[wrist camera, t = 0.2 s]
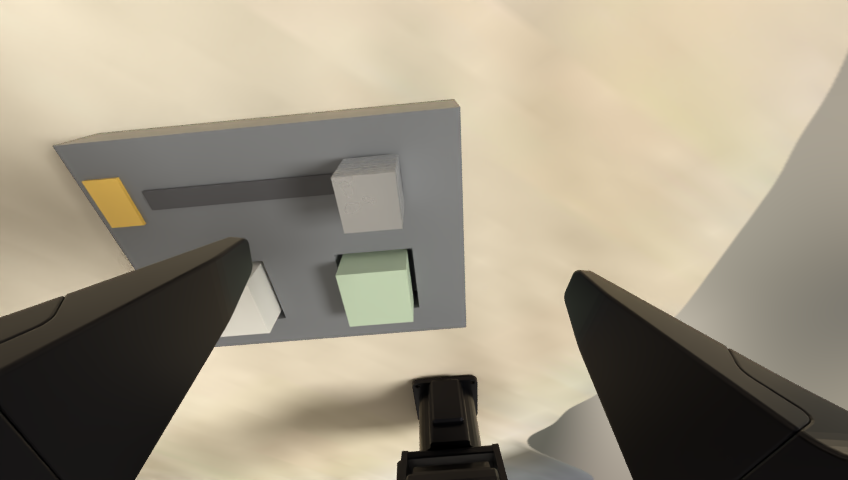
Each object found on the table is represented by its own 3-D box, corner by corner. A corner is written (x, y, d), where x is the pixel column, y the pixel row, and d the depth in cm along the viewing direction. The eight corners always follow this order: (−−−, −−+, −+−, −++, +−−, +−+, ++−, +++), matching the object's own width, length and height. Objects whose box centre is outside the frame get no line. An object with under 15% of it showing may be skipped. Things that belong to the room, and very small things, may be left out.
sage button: (413, 297, 24) (413, 321, 22) (355, 302, 24) (349, 326, 22) (406, 248, 22) (406, 269, 20) (343, 253, 22) (335, 275, 20)
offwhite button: (282, 308, 25) (269, 333, 22) (225, 312, 25) (207, 337, 22) (262, 260, 22) (246, 282, 20) (200, 265, 22) (177, 288, 20)
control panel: (461, 301, 28) (466, 329, 25) (209, 321, 28) (186, 350, 25) (454, 99, 19) (460, 107, 17) (99, 133, 20) (48, 146, 17)
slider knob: (404, 204, 19) (402, 228, 16) (353, 208, 19) (344, 233, 17) (397, 153, 18) (394, 171, 15) (343, 158, 18) (331, 177, 15)
